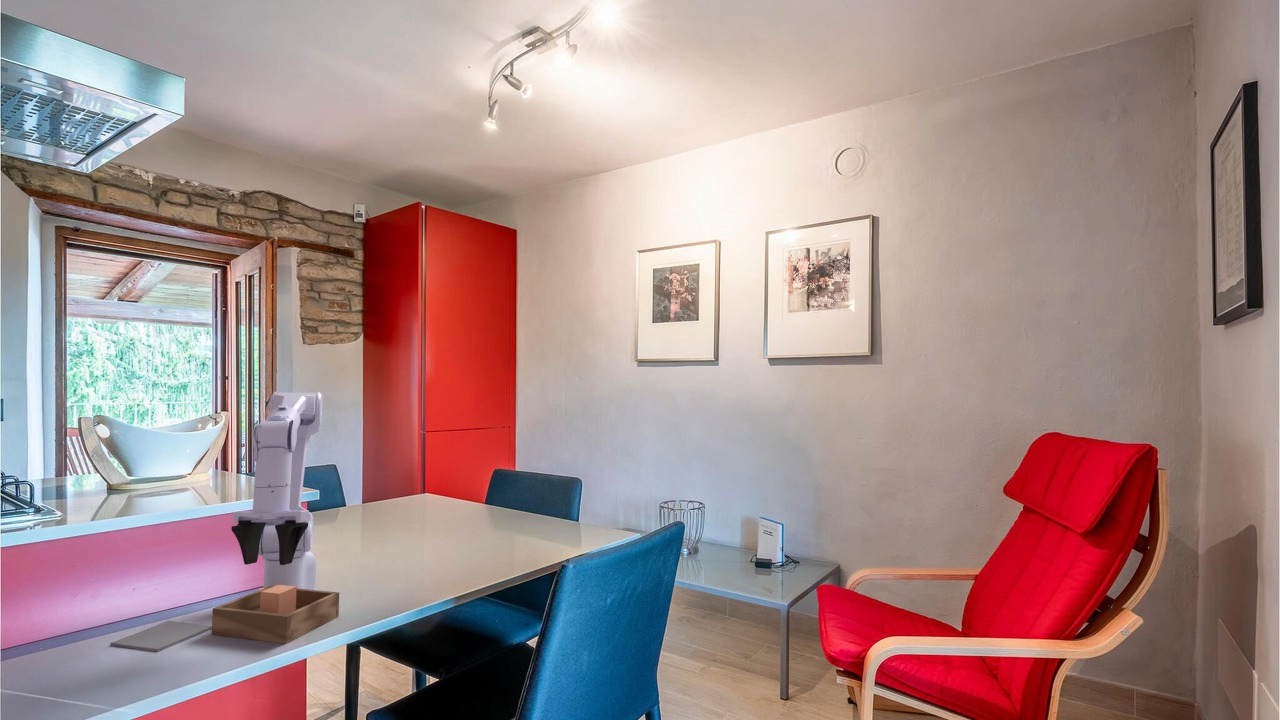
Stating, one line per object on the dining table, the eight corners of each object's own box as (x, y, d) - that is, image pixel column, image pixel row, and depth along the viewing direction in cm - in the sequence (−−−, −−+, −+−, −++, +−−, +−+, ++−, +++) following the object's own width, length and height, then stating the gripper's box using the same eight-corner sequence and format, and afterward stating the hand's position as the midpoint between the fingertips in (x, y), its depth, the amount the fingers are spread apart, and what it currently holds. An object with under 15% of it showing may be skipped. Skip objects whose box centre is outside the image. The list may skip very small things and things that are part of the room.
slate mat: (168, 622, 112) (168, 620, 112) (213, 628, 110) (213, 625, 110) (110, 645, 102) (110, 642, 102) (158, 651, 100) (158, 649, 100)
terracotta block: (277, 611, 114) (278, 584, 114) (295, 613, 113) (296, 586, 113) (259, 619, 110) (260, 591, 110) (278, 621, 109) (279, 593, 109)
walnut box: (269, 609, 119) (270, 585, 119) (338, 616, 116) (339, 592, 116) (211, 634, 107) (212, 608, 107) (286, 643, 103) (287, 616, 104)
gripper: (220, 488, 109) (214, 567, 107) (288, 487, 105) (284, 568, 103) (253, 486, 115) (249, 560, 113) (318, 484, 112) (315, 561, 110)
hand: (268, 563), depth 109 cm, fingers open, 7 cm apart
